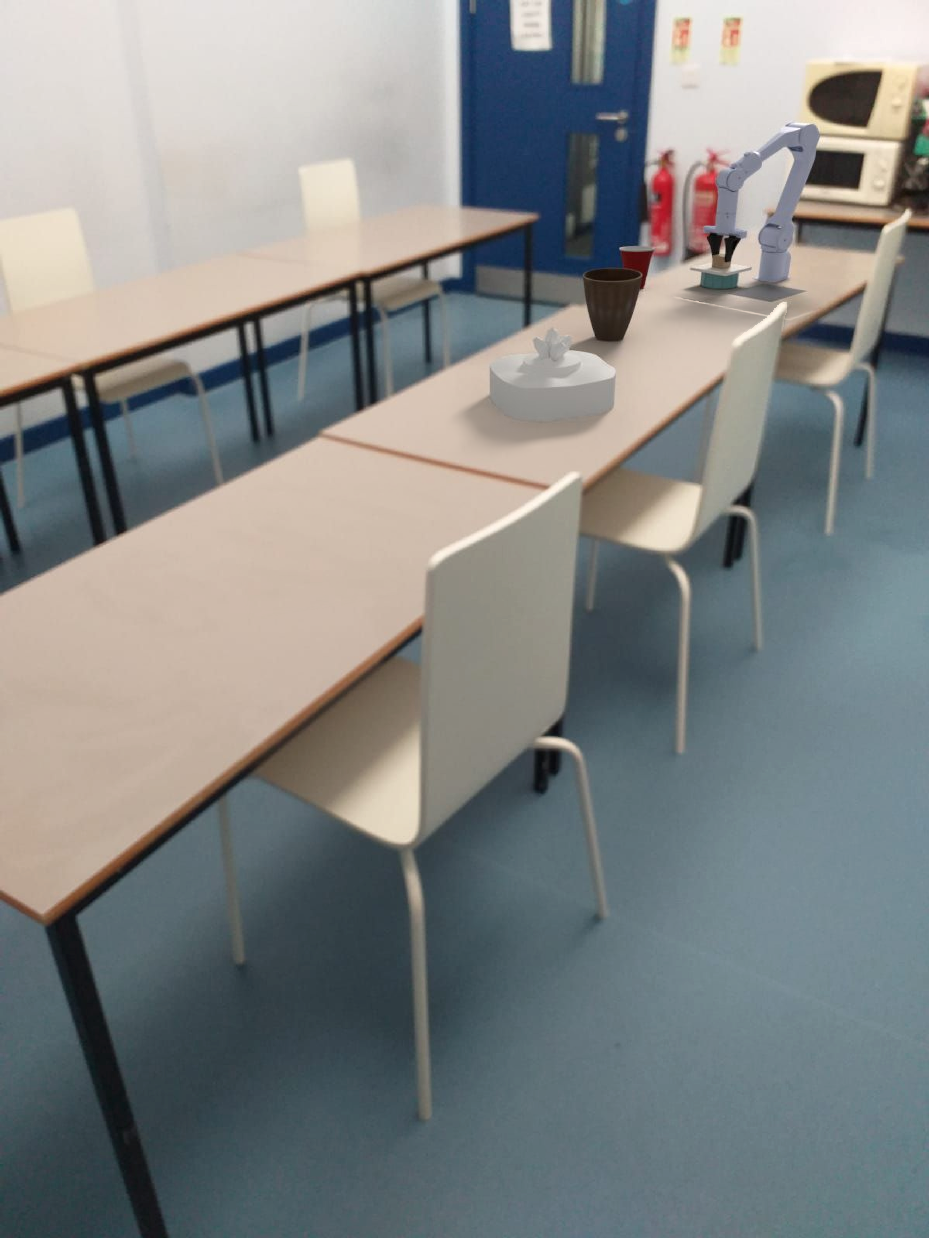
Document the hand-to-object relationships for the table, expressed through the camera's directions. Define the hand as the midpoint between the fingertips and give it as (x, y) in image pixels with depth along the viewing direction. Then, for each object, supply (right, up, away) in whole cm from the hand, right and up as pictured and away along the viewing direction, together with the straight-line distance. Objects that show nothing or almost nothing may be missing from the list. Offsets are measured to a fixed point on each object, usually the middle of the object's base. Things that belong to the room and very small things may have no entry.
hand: (721, 261), depth 294 cm
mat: (+12, -12, -5) cm, 18 cm away
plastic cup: (-25, -6, +7) cm, 27 cm away
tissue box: (-59, -61, -81) cm, 118 cm away
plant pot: (-40, -35, -40) cm, 67 cm away
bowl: (0, -7, +4) cm, 8 cm away
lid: (0, -2, +1) cm, 3 cm away
